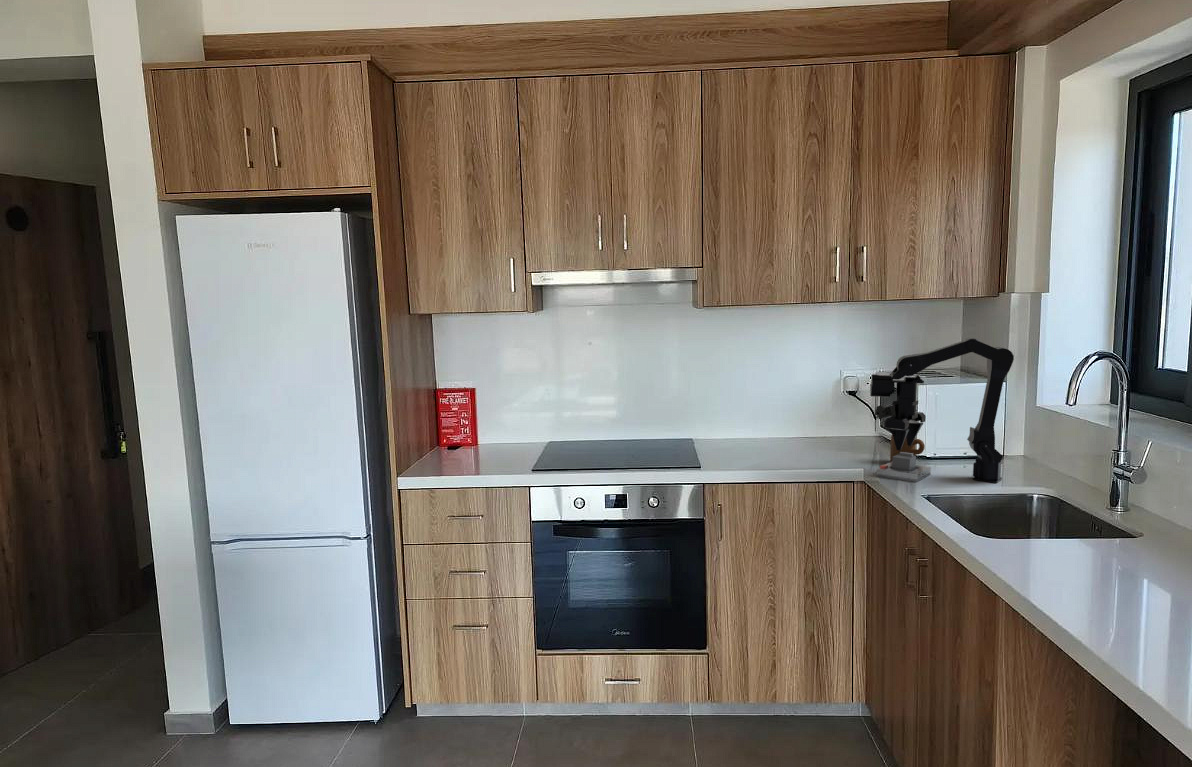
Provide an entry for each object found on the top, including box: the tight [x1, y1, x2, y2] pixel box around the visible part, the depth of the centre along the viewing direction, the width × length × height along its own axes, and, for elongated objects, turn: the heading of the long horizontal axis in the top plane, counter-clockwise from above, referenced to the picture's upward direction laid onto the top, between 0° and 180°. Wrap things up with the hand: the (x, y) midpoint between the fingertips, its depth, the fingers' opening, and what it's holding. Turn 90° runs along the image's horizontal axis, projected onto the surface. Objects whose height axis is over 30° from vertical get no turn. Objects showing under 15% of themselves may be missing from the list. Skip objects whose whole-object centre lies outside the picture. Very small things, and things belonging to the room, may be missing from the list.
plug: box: [892, 452, 917, 472], centre depth 228 cm, size 5×5×6 cm
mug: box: [889, 434, 926, 462], centre depth 241 cm, size 12×8×9 cm, turn 26°
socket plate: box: [876, 462, 932, 483], centre depth 228 cm, size 12×12×3 cm
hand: (904, 447), depth 227 cm, fingers open, 9 cm apart
